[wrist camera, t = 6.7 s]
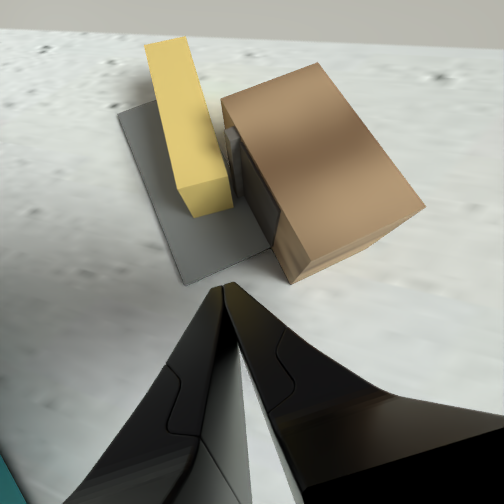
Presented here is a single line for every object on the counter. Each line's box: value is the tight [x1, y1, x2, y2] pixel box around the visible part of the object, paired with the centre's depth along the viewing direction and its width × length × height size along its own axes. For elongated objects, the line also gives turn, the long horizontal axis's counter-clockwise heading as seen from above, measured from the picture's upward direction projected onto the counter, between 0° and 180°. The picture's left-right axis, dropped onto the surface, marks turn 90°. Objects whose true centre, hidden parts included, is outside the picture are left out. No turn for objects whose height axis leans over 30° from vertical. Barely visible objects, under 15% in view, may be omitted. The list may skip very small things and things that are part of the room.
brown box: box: [221, 63, 426, 285], centre depth 15 cm, size 10×7×6 cm, turn 25°
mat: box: [118, 100, 270, 286], centre depth 19 cm, size 16×6×1 cm, turn 25°
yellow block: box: [144, 36, 234, 218], centre depth 18 cm, size 4×3×12 cm
